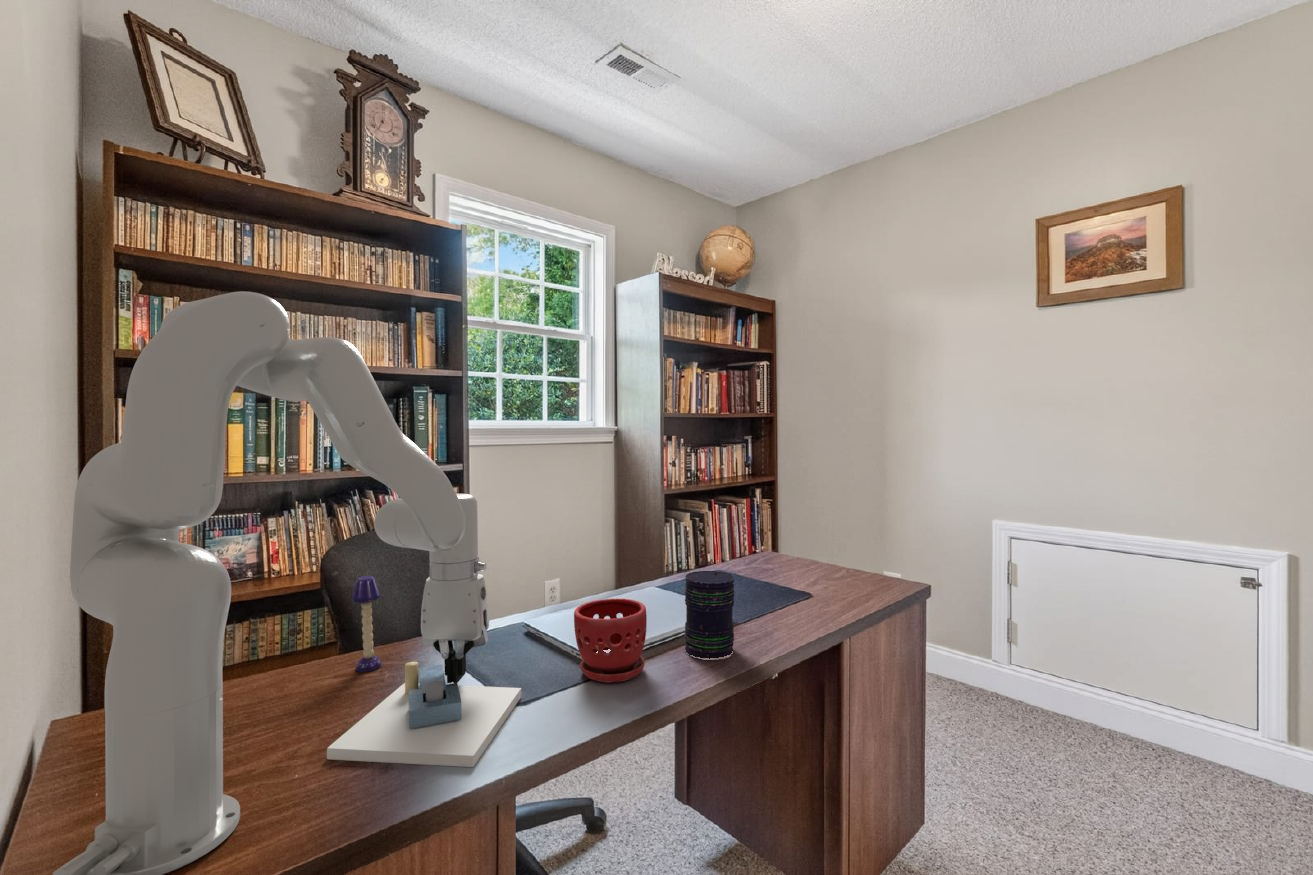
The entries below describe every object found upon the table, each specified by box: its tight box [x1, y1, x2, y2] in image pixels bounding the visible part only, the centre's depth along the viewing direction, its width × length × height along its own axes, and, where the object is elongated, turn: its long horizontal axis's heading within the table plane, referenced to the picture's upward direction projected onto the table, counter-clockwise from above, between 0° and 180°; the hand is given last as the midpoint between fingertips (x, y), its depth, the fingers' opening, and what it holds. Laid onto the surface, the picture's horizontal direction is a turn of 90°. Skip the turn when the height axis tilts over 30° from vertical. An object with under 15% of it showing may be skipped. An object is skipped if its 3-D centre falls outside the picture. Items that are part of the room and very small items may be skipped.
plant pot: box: [573, 598, 648, 684], centre depth 105 cm, size 13×13×12 cm
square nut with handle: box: [409, 664, 461, 729], centre depth 90 cm, size 16×7×2 cm, turn 24°
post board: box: [326, 661, 522, 768], centre depth 86 cm, size 20×20×6 cm
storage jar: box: [684, 570, 735, 659], centre depth 116 cm, size 10×10×15 cm
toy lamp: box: [351, 575, 382, 673], centre depth 107 cm, size 5×5×17 cm
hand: (455, 679), depth 96 cm, fingers closed
